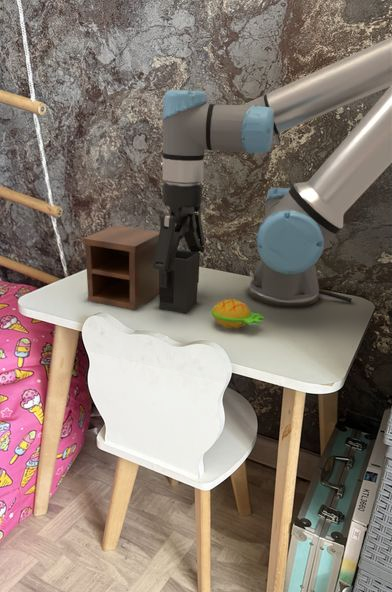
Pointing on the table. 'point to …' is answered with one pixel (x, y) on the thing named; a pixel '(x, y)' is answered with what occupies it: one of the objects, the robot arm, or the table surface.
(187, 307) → the black upright box
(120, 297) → the shelf
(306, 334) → the table surface
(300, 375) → the table surface
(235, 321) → the orange toy pineapple
